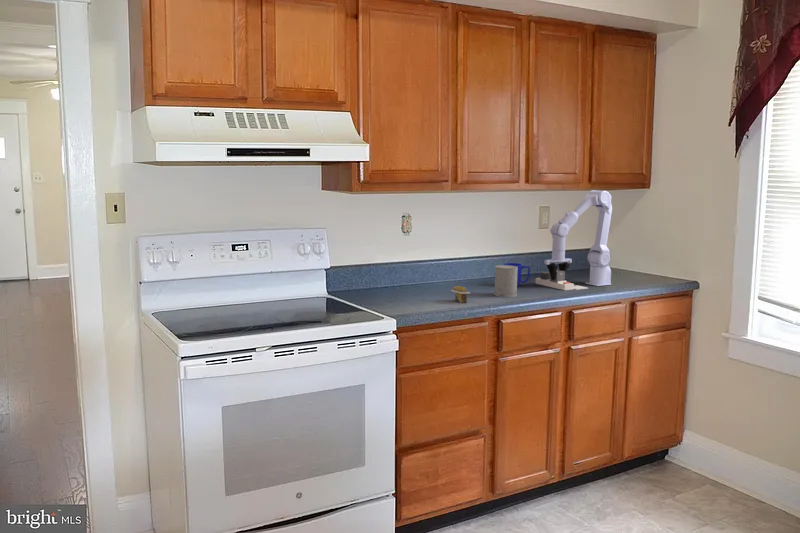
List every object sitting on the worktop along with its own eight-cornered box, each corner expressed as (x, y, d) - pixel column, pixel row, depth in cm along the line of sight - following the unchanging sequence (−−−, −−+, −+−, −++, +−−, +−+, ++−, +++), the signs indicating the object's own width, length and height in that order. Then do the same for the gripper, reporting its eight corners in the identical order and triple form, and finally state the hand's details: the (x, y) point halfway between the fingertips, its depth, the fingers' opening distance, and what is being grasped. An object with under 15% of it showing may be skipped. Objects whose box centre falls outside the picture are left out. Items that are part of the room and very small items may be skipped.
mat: (577, 286, 315) (577, 285, 315) (588, 288, 309) (588, 287, 309) (565, 287, 311) (565, 286, 311) (576, 289, 305) (576, 288, 305)
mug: (529, 287, 310) (530, 266, 308) (502, 286, 312) (503, 265, 310) (529, 284, 317) (530, 263, 316) (503, 283, 320) (504, 262, 318)
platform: (459, 307, 265) (460, 291, 264) (434, 300, 280) (435, 284, 279) (484, 305, 271) (484, 288, 270) (458, 297, 286) (459, 282, 285)
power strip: (544, 282, 324) (544, 271, 323) (573, 289, 307) (574, 277, 306) (535, 283, 321) (535, 271, 321) (564, 290, 304) (565, 277, 303)
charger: (557, 280, 315) (558, 269, 314) (564, 281, 311) (565, 271, 310) (550, 281, 313) (550, 270, 312) (557, 282, 309) (557, 271, 308)
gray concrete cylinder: (503, 297, 285) (503, 268, 283) (489, 294, 293) (490, 265, 291) (521, 296, 289) (522, 267, 287) (507, 292, 297) (508, 264, 296)
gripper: (564, 248, 317) (563, 276, 319) (540, 249, 310) (539, 279, 312) (575, 249, 311) (574, 279, 312) (550, 251, 304) (549, 281, 306)
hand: (557, 279), depth 312 cm, fingers closed on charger, 4 cm apart
